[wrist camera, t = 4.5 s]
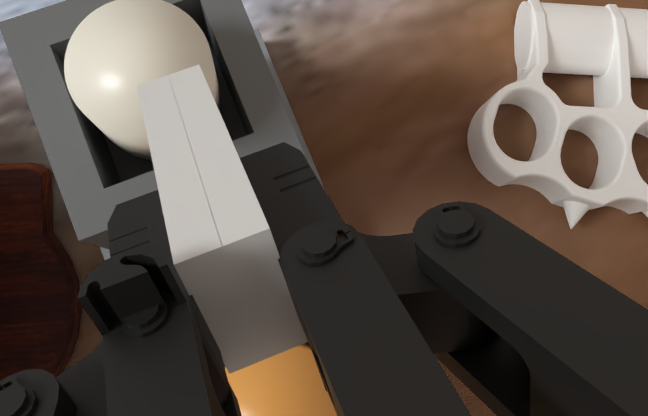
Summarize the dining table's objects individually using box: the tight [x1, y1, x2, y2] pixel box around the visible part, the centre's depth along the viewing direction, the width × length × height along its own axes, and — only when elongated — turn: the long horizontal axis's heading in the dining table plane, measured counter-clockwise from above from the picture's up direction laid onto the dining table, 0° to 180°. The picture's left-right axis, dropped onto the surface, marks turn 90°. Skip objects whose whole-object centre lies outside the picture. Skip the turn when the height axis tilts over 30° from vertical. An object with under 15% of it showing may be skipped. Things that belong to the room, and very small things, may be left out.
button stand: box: [0, 0, 326, 367], centre depth 29 cm, size 38×13×14 cm, turn 23°
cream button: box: [64, 0, 221, 161], centre depth 23 cm, size 5×5×4 cm
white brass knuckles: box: [467, 0, 648, 229], centre depth 39 cm, size 3×18×15 cm
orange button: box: [225, 343, 337, 416], centre depth 22 cm, size 5×5×4 cm
